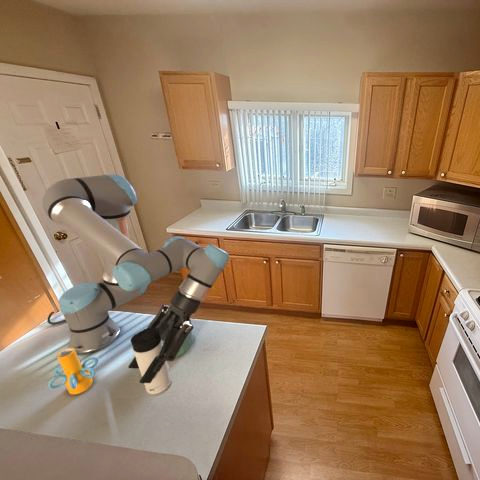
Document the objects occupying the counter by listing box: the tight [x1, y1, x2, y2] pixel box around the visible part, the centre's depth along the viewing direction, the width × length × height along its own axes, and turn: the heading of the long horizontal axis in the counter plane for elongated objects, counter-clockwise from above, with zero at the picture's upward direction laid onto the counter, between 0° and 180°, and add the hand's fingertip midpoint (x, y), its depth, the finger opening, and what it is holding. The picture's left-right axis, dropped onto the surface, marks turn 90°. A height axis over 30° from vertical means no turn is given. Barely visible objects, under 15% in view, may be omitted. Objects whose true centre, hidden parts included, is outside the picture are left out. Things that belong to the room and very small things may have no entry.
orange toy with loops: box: [47, 347, 99, 395], centre depth 80 cm, size 12×10×15 cm
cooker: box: [162, 330, 194, 358], centre depth 99 cm, size 12×12×10 cm
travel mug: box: [130, 327, 173, 397], centre depth 69 cm, size 6×7×20 cm
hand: (139, 374), depth 67 cm, fingers closed on travel mug, 6 cm apart
